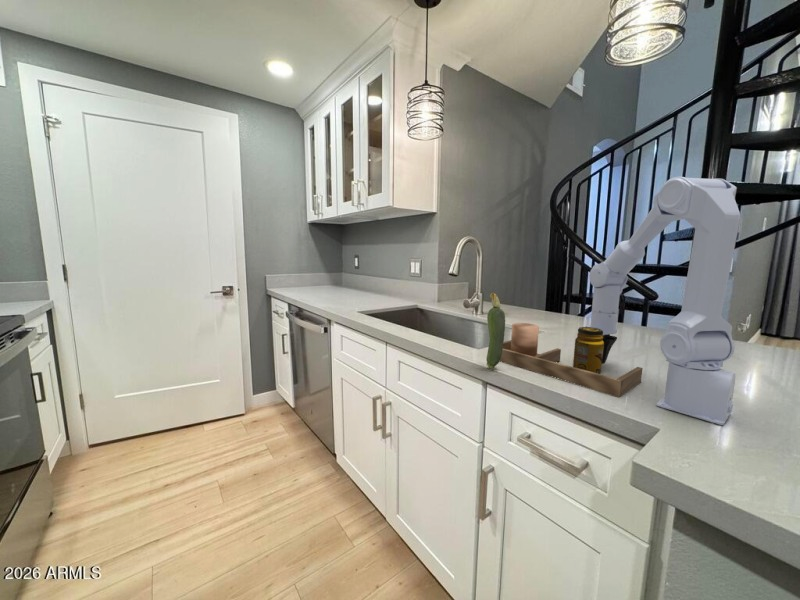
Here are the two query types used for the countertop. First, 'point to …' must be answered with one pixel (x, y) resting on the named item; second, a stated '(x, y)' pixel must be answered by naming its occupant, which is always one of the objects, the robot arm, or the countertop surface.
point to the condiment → (589, 349)
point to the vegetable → (495, 332)
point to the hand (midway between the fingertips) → (599, 362)
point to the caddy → (526, 356)
